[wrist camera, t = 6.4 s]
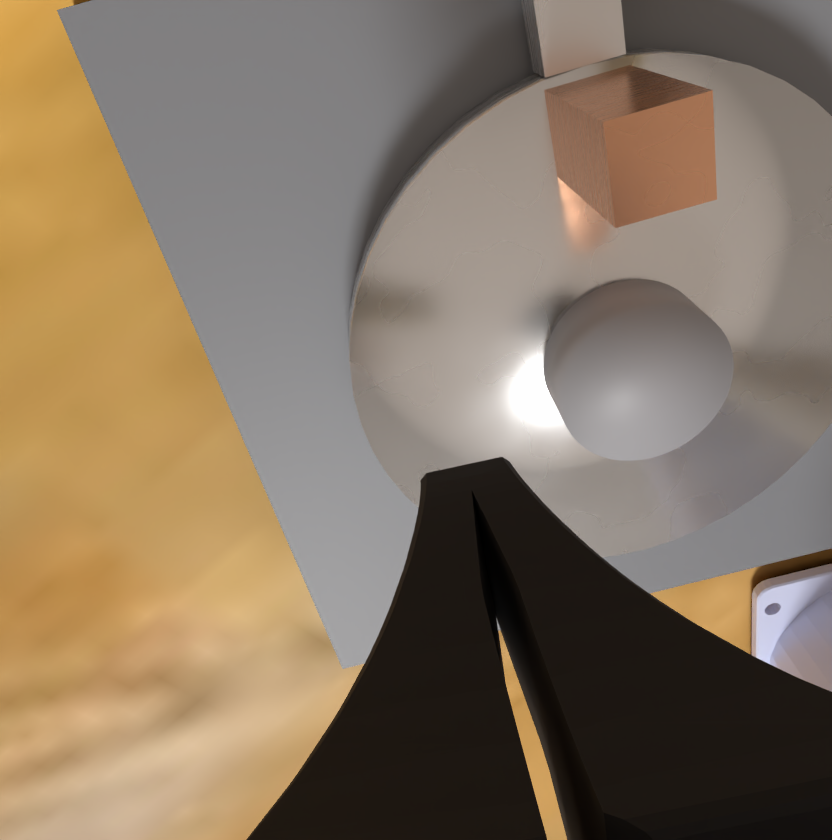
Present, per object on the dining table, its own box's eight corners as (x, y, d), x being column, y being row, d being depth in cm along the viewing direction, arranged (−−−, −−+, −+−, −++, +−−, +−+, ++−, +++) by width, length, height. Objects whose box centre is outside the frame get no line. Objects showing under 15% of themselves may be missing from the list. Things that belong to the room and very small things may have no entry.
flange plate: (421, 581, 21) (442, 715, 17) (211, -26, 13) (164, -25, 9) (846, 468, 20) (964, 581, 16) (893, -235, 12) (1138, -323, 9)
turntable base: (909, 503, 23) (1005, 590, 20) (341, 643, 23) (344, 751, 20) (1024, -260, 13) (1246, -334, 10) (73, 7, 14) (-3, 18, 11)
